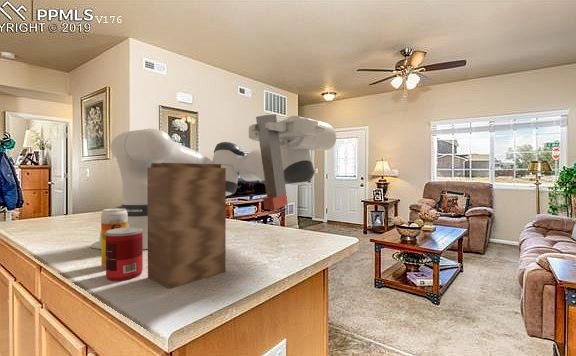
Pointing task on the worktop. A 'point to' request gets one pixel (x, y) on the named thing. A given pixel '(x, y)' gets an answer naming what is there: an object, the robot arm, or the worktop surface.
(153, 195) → the wooden slab
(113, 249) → the canned food
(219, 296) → the worktop surface
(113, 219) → the beer can
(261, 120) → the metal block
